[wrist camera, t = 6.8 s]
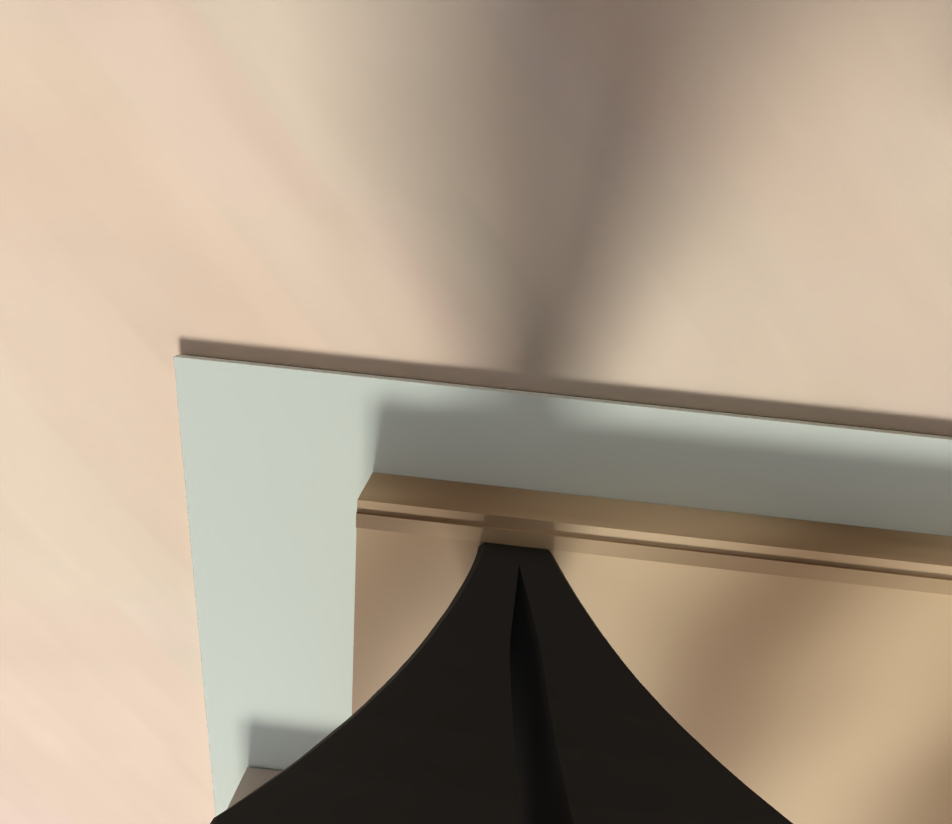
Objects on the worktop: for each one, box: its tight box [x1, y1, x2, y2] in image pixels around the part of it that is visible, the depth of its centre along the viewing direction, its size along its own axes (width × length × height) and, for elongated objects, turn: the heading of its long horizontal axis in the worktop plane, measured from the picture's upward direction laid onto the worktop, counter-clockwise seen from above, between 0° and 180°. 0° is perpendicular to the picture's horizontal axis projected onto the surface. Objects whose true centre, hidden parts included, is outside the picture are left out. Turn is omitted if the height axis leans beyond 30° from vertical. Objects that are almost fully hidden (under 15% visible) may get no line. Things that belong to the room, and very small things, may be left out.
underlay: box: [174, 354, 952, 816], centre depth 14 cm, size 22×20×1 cm
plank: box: [352, 472, 952, 824], centre depth 12 cm, size 16×8×1 cm, turn 85°
